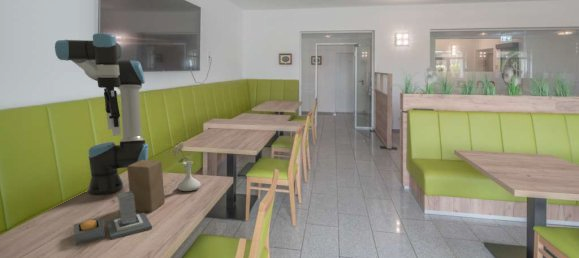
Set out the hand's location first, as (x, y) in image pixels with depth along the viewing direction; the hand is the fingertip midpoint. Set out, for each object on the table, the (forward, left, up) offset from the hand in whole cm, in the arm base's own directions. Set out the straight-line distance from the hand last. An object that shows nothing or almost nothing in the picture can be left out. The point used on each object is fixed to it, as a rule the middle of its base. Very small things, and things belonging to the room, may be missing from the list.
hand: (114, 132), depth 128 cm
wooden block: (-6, +11, -36) cm, 38 cm away
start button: (+9, -12, -34) cm, 37 cm away
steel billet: (+9, +1, -35) cm, 36 cm away
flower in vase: (-17, +32, -36) cm, 51 cm away
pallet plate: (+9, +1, -36) cm, 37 cm away
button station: (+9, -12, -36) cm, 39 cm away
